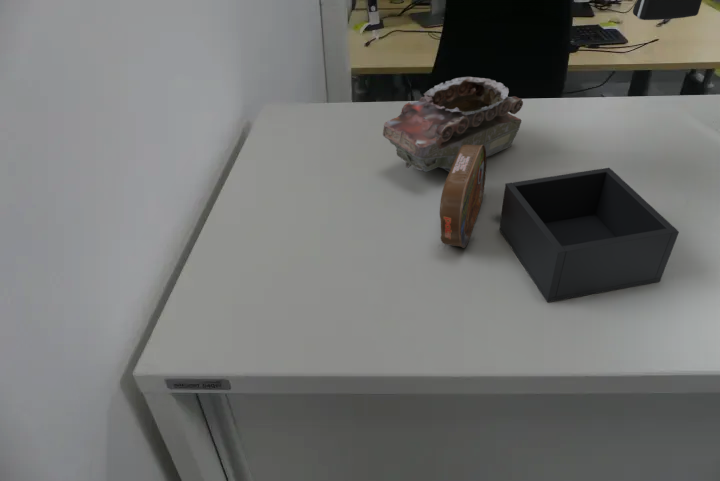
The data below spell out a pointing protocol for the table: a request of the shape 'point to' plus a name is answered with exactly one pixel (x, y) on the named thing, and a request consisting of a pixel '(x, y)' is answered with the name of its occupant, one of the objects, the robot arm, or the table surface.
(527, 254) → the open box
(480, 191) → the tin
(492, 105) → the decorative box
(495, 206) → the table surface
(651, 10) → the battery charger
